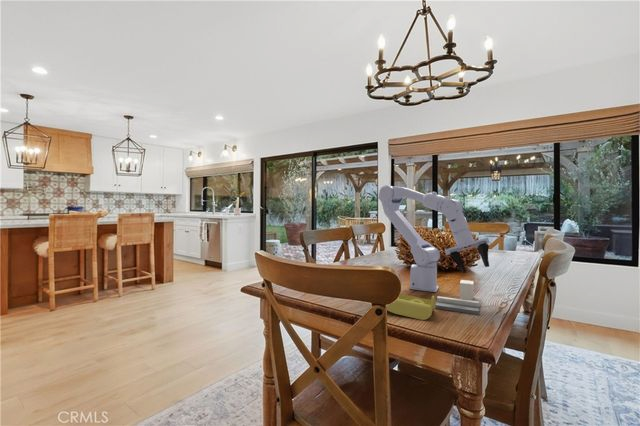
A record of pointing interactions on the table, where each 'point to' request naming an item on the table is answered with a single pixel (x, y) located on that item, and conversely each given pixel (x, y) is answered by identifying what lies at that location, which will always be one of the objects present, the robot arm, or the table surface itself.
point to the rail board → (457, 305)
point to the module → (466, 290)
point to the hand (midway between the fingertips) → (476, 269)
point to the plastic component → (412, 307)
